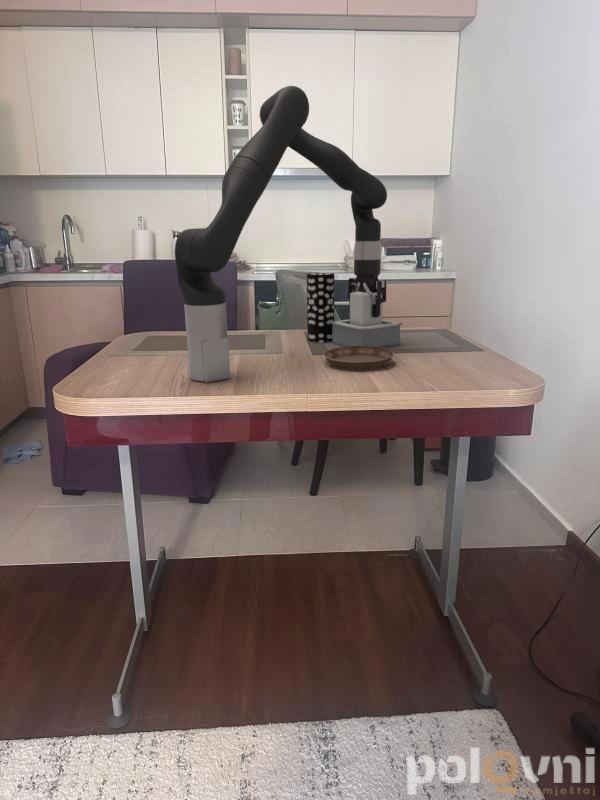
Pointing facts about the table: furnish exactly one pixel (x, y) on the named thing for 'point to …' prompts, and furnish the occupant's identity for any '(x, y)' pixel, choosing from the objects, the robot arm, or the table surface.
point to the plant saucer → (358, 357)
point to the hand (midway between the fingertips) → (366, 315)
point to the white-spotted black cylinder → (320, 306)
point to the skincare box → (363, 310)
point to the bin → (366, 334)
